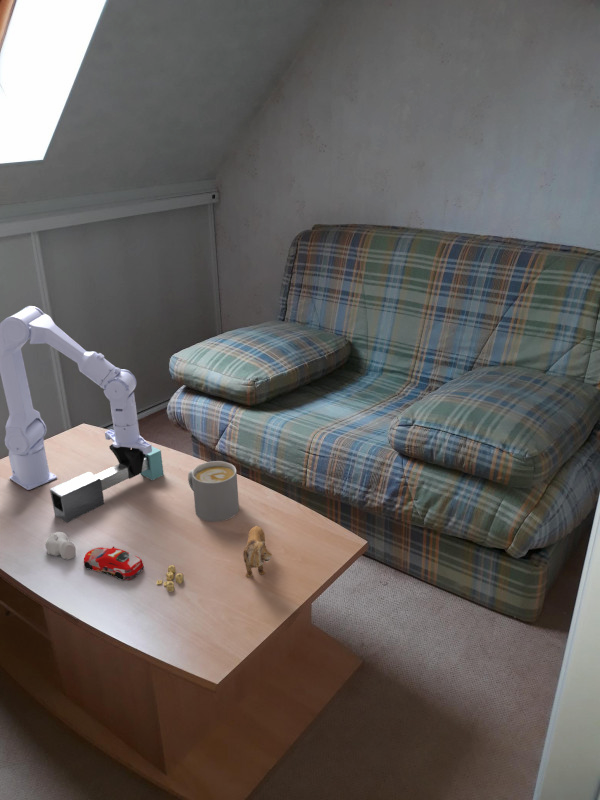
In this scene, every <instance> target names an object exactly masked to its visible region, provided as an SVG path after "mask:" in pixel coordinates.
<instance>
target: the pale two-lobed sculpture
mask: <svg viewBox="0 0 600 800" xmlns="http://www.w3.org/2000/svg"><path fill="white" fill-rule="evenodd" d="M45 549H46V554H47V555H48V556H49V555H50V556H55V557H56V556H60V557H61V558H62V559H63V560H71V559H73V558H74V557H75V556H76V554H77V553H76V551H77V550H76V549H77V547H76V545H75V543H74V542H72V541H71V540H69V538H68V535H67V534H66V533H65V532H62V531H57V532H54V533H52V534H51V535H50V536H48V538H47V540H46V541H45Z"/></svg>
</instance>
